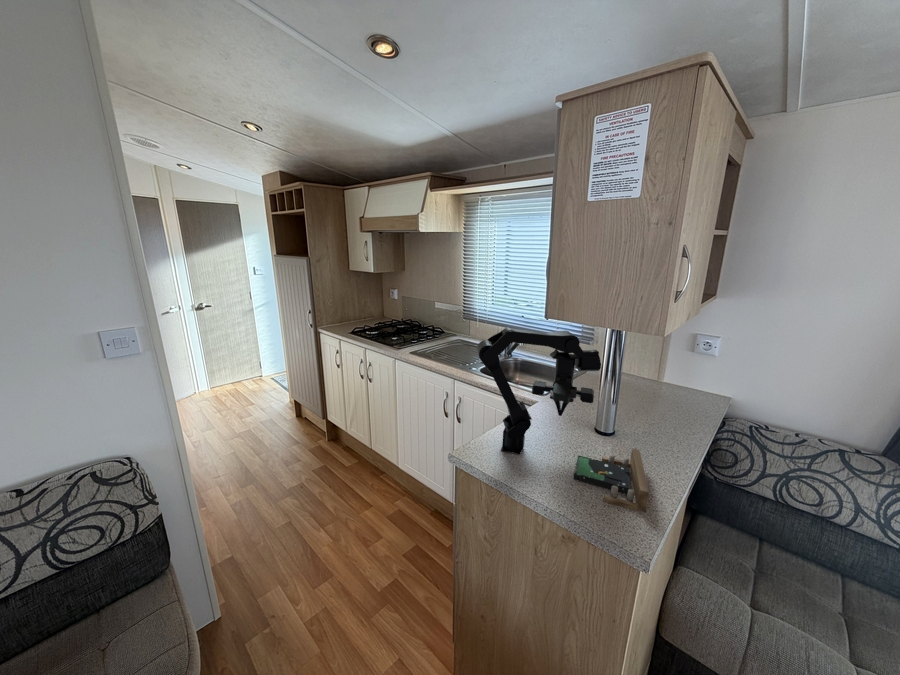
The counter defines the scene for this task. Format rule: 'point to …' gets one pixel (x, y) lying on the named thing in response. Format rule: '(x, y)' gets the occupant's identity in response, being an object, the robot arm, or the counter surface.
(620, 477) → the disk drive
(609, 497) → the drive tray
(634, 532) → the counter surface
